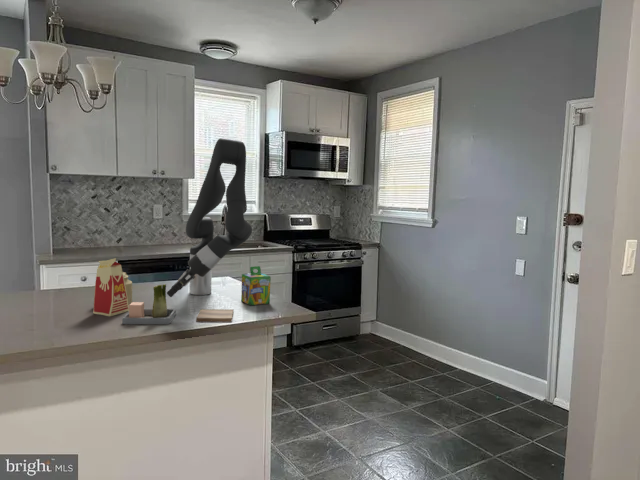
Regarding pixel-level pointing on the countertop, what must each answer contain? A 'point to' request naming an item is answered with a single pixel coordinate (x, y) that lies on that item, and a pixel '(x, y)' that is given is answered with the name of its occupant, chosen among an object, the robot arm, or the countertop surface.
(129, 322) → the grey tray
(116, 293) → the milk carton
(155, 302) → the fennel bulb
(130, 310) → the pink rectangular block
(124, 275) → the sugar bowl
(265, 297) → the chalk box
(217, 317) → the board
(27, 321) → the countertop surface
